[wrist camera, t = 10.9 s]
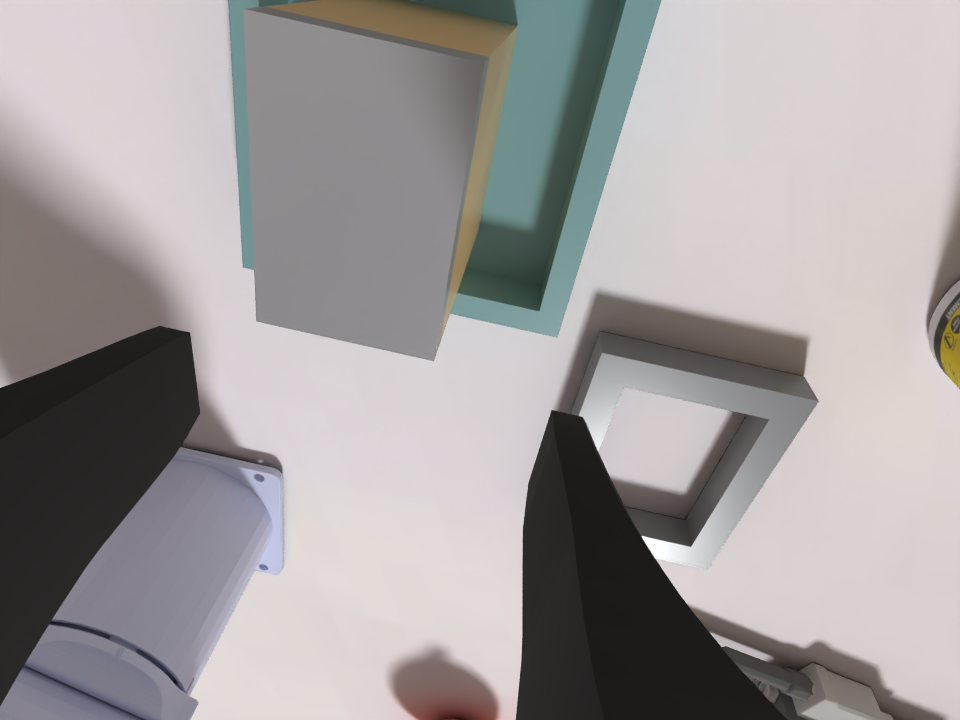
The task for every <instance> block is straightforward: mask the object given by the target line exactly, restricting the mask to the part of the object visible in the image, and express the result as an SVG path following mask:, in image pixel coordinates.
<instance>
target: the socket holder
mask: <svg viewBox="0 0 960 720" xmlns="http://www.w3.org/2000/svg"><path fill="white" fill-rule="evenodd" d="M624 387H627V388H631V389H636V390H640V391H645V392H649V393H654V394H658V395H663V396H667V397H672V398H676V399H680V400H685V401H689V402H694V403H698V404H703V405H707V406H712V407H716V408H721V409H725V410H730V411H734V412H739V413H743V414H747V415H746V417H745V418H744V420H743V422H742V424H741V425H740V427H739V429H738V431H737V432H736V434H735V436H734V437H733V439H732V441H731V443H730V444H729V446H728V448H727V449H726V451H725V453H724V455H723V456H722V458H721V460H720V461H719V463H718V465H717V467H716V468H715V470H714V472H713V473H712V475H711V477H710V479H709V480H708V482H707V484H706V486H705V487H704V489H703V491H702V492H701V494H700V496H699V498H698V499H697V501H696V503H695V504H694V506H693V508H692V510H691V511H690V513H689V515H688V516H687V518H686V520H682V519H678V518H673V517H669V516H664V515H660V514H655V513H651V512H646V511H642V510H637V509H633V508H628V507H625V508H626V510H627V512H628V513H629V515H630V517H631V519H632V521H633V523H634V524H635V526H636V528H637V529H638V531H639V533H640V535H641V536H642V538H643V540H644V541H645V543H646V545H647V546H648V548H649V550H650V551H651V553H652V554H653V556H654V558H657V559H661V560H666V561H670V562H675V563H679V564H684V565H688V566H693V567H697V568H701V569H706V570H707V569H708V568H709V566H710V565H711V563H712V562H713V560H714V559H715V557H716V555H717V554H718V552H719V551H720V549H721V548H722V546H723V545H724V543H725V542H726V540H727V539H728V537H729V536H730V534H731V533H732V531H733V530H734V528H735V527H736V525H737V524H738V522H739V521H740V519H741V518H742V516H743V515H744V513H745V512H746V510H747V509H748V507H749V506H750V504H751V503H752V501H753V500H754V498H755V497H756V495H757V494H758V492H759V491H760V489H761V488H762V486H763V485H764V483H765V482H766V480H767V479H768V477H769V476H770V474H771V473H772V471H773V470H774V468H775V467H776V465H777V463H778V462H779V460H780V459H781V457H782V456H783V454H784V453H785V451H786V450H787V448H788V447H789V445H790V444H791V442H792V441H793V439H794V438H795V436H796V435H797V433H798V432H799V430H800V429H801V427H802V426H803V424H804V423H805V421H806V420H807V418H808V417H809V415H810V414H811V412H812V411H813V409H814V408H815V406H816V405H817V403H818V402H819V401H818V399H817V397H816V396H815V394H814V392H813V391H812V389H811V387H810V386H809V384H808V382H807V380H806V379H805V377H803V376H799V375H794V374H790V373H785V372H781V371H776V370H772V369H767V368H763V367H758V366H754V365H749V364H745V363H740V362H736V361H732V360H727V359H723V358H718V357H714V356H709V355H705V354H700V353H696V352H691V351H687V350H682V349H678V348H673V347H669V346H664V345H660V344H655V343H651V342H647V341H642V340H638V339H633V338H629V337H624V336H620V335H615V334H611V333H606V332H602V331H600V332H599V335H598V338H597V341H596V343H595V346H594V349H593V352H592V355H591V358H590V360H589V363H588V366H587V369H586V372H585V374H584V377H583V380H582V383H581V386H580V388H579V391H578V394H577V397H576V400H575V403H574V405H573V408H572V411H571V414H572V415H577V416H581V417H583V418H584V420H585V422H586V423H587V426H588V429H589V431H590V433H591V436H592V438H593V441H594V443H595V446H596V448H597V450H599V448H600V445H601V443H602V440H603V438H604V435H605V433H606V430H607V428H608V426H609V423H610V421H611V418H612V416H613V413H614V411H615V409H616V406H617V404H618V401H619V399H620V396H621V394H622V391H623V389H624Z"/></svg>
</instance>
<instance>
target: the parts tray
mask: <svg viewBox="0 0 960 720" xmlns="http://www.w3.org/2000/svg"><path fill="white" fill-rule="evenodd" d="M309 1H317V0H228V3H229V22H230V40H231V59H232V77H233V95H234V114H235V132H236V151H237V169H238V187H239V206H240V224H241V243H242V261H243V267H244V268H249V269H253V270H254V252H253V228H252V204H251V180H250V156H249V132H248V108H247V84H246V60H245V36H244V12H243V9H247V8H256V7H265V6H274V5H282V4H291V3H300V2H309ZM406 1H411V2H415V3H420V4H424V5H428V6H433V7H437V8H442V9H446V10H451V11H455V12H460V13H464V14H469V15H473V16H477V17H482V18H486V19H491V20H495V21H500V22H504V23H509V24H513V25H518V28H517V34H516V39H515V44H514V49H513V54H512V59H511V65H510V70H509V75H508V80H507V85H506V91H505V96H504V101H503V106H502V111H501V116H500V122H499V127H498V132H497V137H496V142H495V148H494V153H493V158H492V163H491V168H490V174H489V179H488V184H487V189H486V194H485V199H484V205H483V210H482V215H481V220H480V225H479V230H478V233H477V236H476V239H475V242H474V244H473V247H472V250H471V253H470V256H469V259H468V262H467V265H466V268H465V271H464V274H463V277H462V280H461V283H460V286H459V289H458V292H457V294H456V297H455V300H454V303H453V306H452V309H451V312H450V314H454V315H459V316H463V317H468V318H472V319H477V320H481V321H486V322H490V323H495V324H499V325H504V326H508V327H513V328H517V329H521V330H526V331H530V332H535V333H539V334H544V335H548V336H553V337H558V334H559V331H560V327H561V324H562V321H563V318H564V314H565V311H566V308H567V305H568V301H569V298H570V295H571V292H572V288H573V285H574V282H575V279H576V275H577V272H578V269H579V266H580V263H581V259H582V256H583V253H584V250H585V246H586V243H587V240H588V237H589V233H590V230H591V227H592V224H593V220H594V217H595V214H596V211H597V207H598V204H599V201H600V198H601V194H602V191H603V188H604V185H605V181H606V178H607V175H608V172H609V168H610V165H611V162H612V159H613V156H614V152H615V149H616V146H617V143H618V139H619V136H620V133H621V130H622V126H623V123H624V120H625V117H626V113H627V110H628V107H629V104H630V100H631V97H632V94H633V91H634V87H635V84H636V81H637V78H638V74H639V71H640V68H641V65H642V62H643V58H644V55H645V52H646V49H647V45H648V42H649V39H650V36H651V32H652V29H653V26H654V23H655V19H656V16H657V13H658V10H659V6H660V3H661V0H406Z"/></svg>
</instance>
